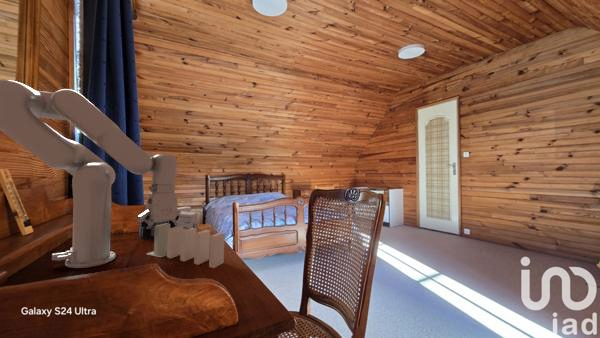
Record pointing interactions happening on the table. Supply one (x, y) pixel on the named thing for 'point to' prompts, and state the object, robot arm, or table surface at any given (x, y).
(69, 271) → the table surface
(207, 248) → the tile
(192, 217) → the ink box
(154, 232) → the small box
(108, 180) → the robot arm
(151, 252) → the end pad
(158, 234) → the tile
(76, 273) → the table surface
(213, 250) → the tile
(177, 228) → the tile
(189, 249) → the tile
